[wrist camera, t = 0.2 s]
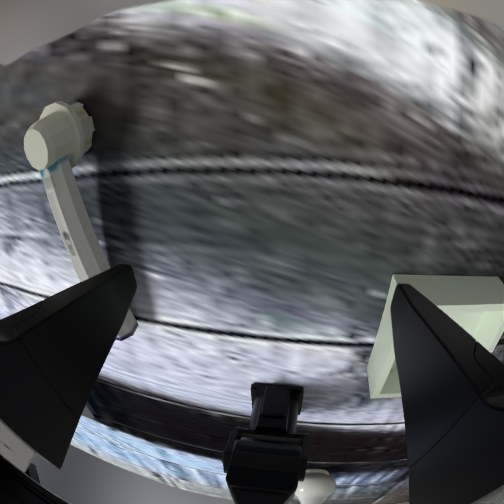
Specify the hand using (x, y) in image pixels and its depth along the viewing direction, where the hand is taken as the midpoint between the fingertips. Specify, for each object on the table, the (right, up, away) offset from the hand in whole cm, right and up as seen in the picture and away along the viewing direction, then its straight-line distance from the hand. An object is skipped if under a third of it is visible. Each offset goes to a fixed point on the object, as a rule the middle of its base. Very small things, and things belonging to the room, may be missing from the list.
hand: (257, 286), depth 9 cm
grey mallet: (-16, +4, +18) cm, 24 cm away
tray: (+19, -7, +17) cm, 26 cm away
